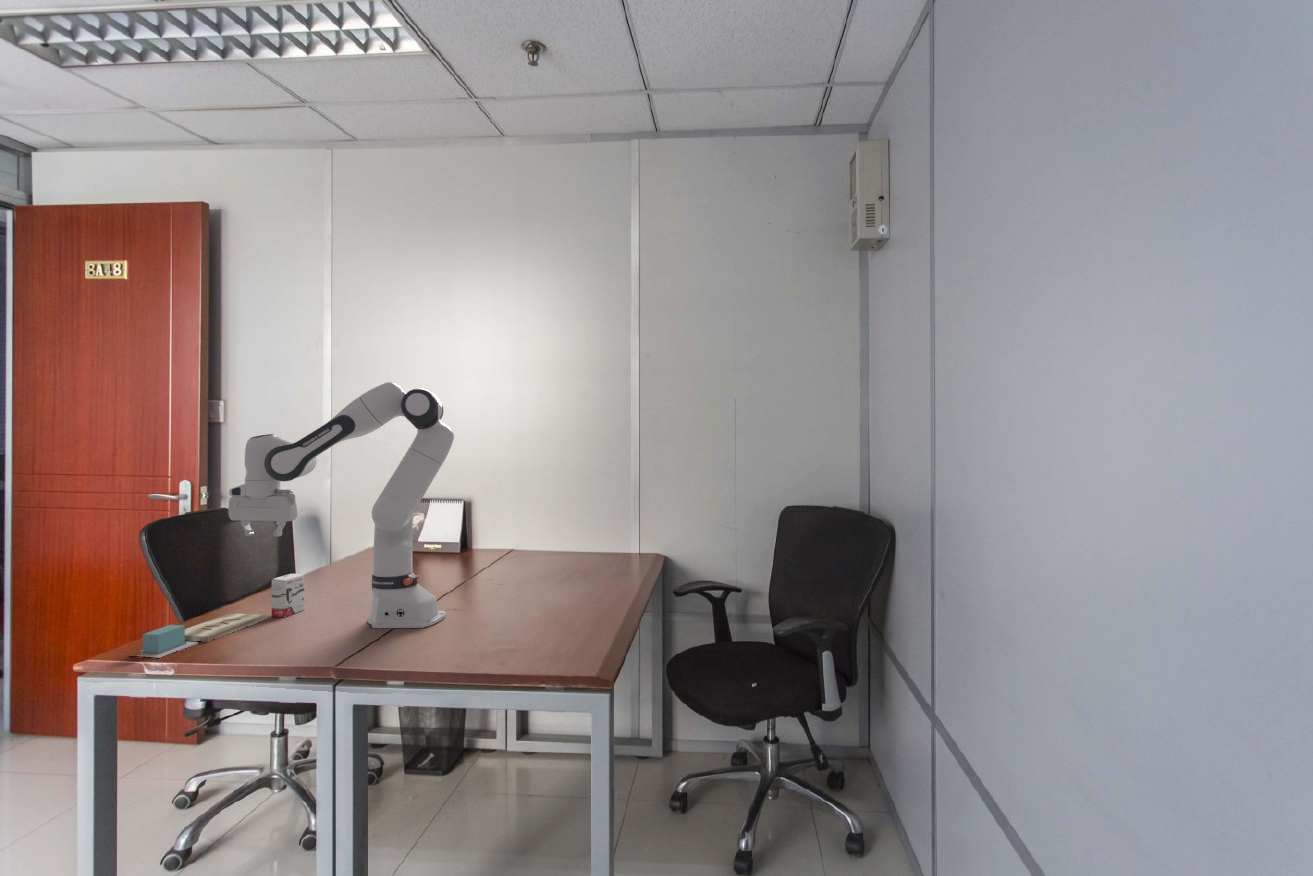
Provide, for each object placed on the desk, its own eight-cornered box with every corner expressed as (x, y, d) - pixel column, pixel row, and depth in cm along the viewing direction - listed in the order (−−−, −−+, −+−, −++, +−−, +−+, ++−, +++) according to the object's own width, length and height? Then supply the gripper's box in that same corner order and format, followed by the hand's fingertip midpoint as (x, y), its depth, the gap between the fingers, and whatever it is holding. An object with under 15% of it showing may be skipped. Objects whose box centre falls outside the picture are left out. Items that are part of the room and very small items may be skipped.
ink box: (284, 618, 188) (284, 580, 188) (270, 617, 189) (270, 579, 189) (305, 610, 196) (305, 573, 196) (292, 609, 197) (292, 573, 197)
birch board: (265, 619, 186) (265, 614, 186) (207, 642, 166) (207, 636, 166) (230, 617, 188) (230, 612, 188) (169, 639, 168) (169, 634, 168)
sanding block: (186, 643, 164) (186, 625, 164) (158, 654, 156) (158, 635, 156) (169, 643, 164) (169, 624, 164) (141, 653, 156) (141, 634, 156)
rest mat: (198, 643, 165) (198, 642, 165) (159, 658, 154) (159, 657, 154) (169, 641, 166) (169, 640, 166) (128, 656, 156) (128, 655, 156)
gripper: (302, 488, 181) (302, 534, 182) (241, 487, 184) (242, 533, 185) (286, 490, 175) (287, 538, 175) (223, 489, 178) (224, 537, 178)
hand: (263, 535), depth 180 cm, fingers open, 8 cm apart
